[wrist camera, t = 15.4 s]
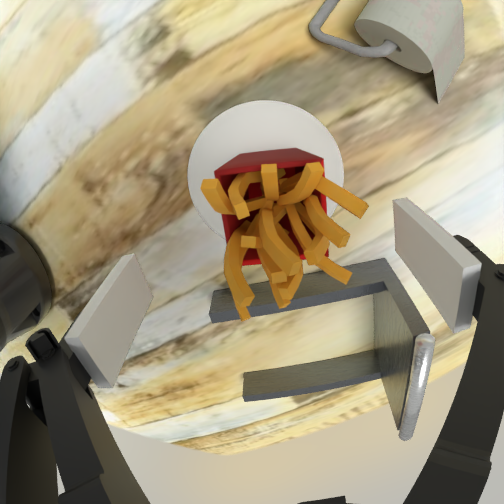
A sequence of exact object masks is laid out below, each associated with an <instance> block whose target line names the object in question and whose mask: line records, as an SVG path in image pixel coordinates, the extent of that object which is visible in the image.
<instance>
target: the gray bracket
mask: <svg viewBox="0 0 504 504" xmlns="http://www.w3.org/2000/svg"><path fill="white" fill-rule="evenodd" d="M343 268H345V269H346V270H348V271H350V272H352V275H351V277H350V279H349V281H348V282H347V284H346V285H345V284H344V283H342V282H340V281H338V280H337V279H335V278H333V277H331V276H330V275H328V274H327V273H326V272H324V271H320V272H315V273H310V274H305V275H303V277H302V279H301V282H300V284H299V287H298V289H297V291H296V292H295V294H294V296H293V298H292V299H291V300H290V302H291V303H290V304H289V305H288V306H287V307H285V308H281V309H279V307H278V305H277V302H276V300H275V298H274V295H273V292H272V289H271V286H270V282H269V281H268V282H262V283H257V284H251V285H249V287H250V288H251V290H252V292H253V293H254V295H255V297H254V299H253V300H252V302H251V304H250V306H246V307H247V310H248V312H249V314H250V316H251V317H255V316H261V315H267V314H273V313H279V312H284V311H290V310H295V309H301V308H306V307H311V306H316V305H322V304H327V303H332V302H336V301H341V300H346V299H351V298H356V297H360V296H365V295H369V294H373V300H374V350H370V351H366V352H362V353H357V354H352V355H348V356H343V357H338V358H333V359H328V360H323V361H318V362H312V363H307V364H301V365H295V366H289V367H282V368H276V369H269V370H262V371H255V372H247V373H244V382H243V399H244V401H245V402H248V401H257V400H266V399H273V398H281V397H288V396H294V395H301V394H307V393H313V392H318V391H324V390H329V389H334V388H339V387H344V386H349V385H354V384H358V383H363V382H367V381H371V380H376V379H380V378H381V379H382V382H383V385H384V388H385V391H386V394H387V398H388V401H389V404H390V407H391V410H392V414H393V417H394V420H395V423H396V427H397V430H399V438H400V439H401V440H404V441H405V440H409V439H411V437H412V436H413V433H414V429H415V426H416V423H417V419H418V416H419V412H420V408H421V405H422V400H423V397H424V393H425V389H426V385H427V380H428V376H429V371H430V366H431V362H432V356H433V351H434V346H435V338H434V337H433V336H432V335H431V334H430V330H429V329H428V327H427V325H426V323H425V322H424V320H423V318H422V316H421V315H420V313H419V311H418V310H417V308H416V306H415V305H414V303H413V301H412V300H411V298H410V297H409V295H408V293H407V292H406V290H405V288H404V287H403V285H402V284H401V282H400V281H399V279H398V277H397V276H396V274H395V273H394V271H393V270H392V268H391V267H390V265H389V263H388V262H387V260H386V259H385V258H383V259H378V260H374V261H369V262H364V263H359V264H355V265H350V266H345V267H343ZM209 316H210V318H211V321H212V323H217V322H224V321H230V320H237V319H240V316H239V314H238V311H237V309H236V306H235V303H234V299H233V295H232V292H231V290H230V288H229V289H223V290H218V291H214V293H213V298H212V302H211V306H210V311H209Z"/></svg>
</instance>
